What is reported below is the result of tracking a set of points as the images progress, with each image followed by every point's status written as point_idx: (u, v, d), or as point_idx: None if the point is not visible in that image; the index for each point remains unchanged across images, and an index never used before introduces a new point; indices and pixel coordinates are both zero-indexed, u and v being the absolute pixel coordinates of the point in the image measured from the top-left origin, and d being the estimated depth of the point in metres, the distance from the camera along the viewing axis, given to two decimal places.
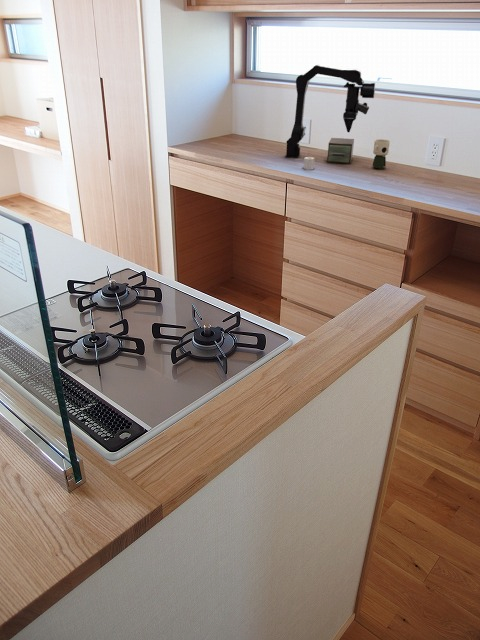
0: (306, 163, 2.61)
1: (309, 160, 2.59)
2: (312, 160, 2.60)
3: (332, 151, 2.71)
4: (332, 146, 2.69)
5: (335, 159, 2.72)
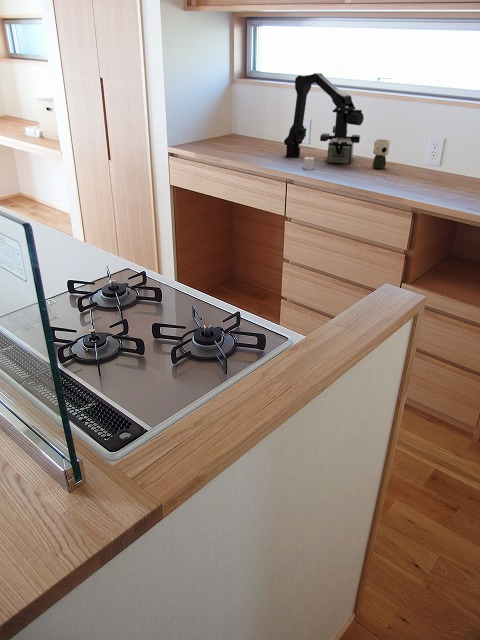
0: (306, 163, 2.61)
1: (309, 160, 2.59)
2: (312, 160, 2.60)
3: (332, 152, 2.69)
4: (332, 147, 2.68)
5: (335, 160, 2.70)
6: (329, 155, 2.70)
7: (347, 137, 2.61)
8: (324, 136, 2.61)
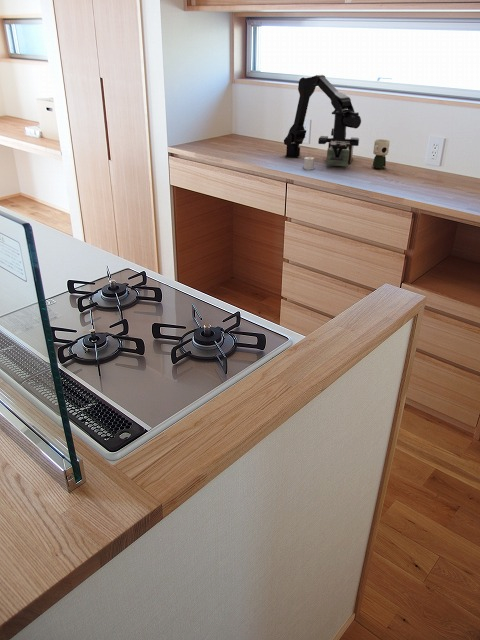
0: (306, 163, 2.61)
1: (309, 160, 2.59)
2: (312, 160, 2.60)
3: (330, 155, 2.63)
4: (330, 150, 2.62)
5: (333, 163, 2.65)
6: (327, 158, 2.64)
7: (346, 140, 2.55)
8: (322, 139, 2.56)
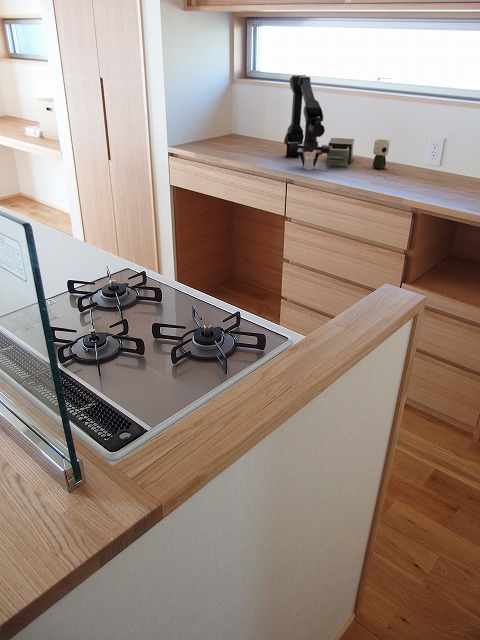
0: (306, 163, 2.61)
1: (309, 160, 2.59)
2: (312, 160, 2.60)
3: (330, 155, 2.63)
4: (330, 150, 2.62)
5: (333, 163, 2.65)
6: (327, 158, 2.64)
7: None
8: None
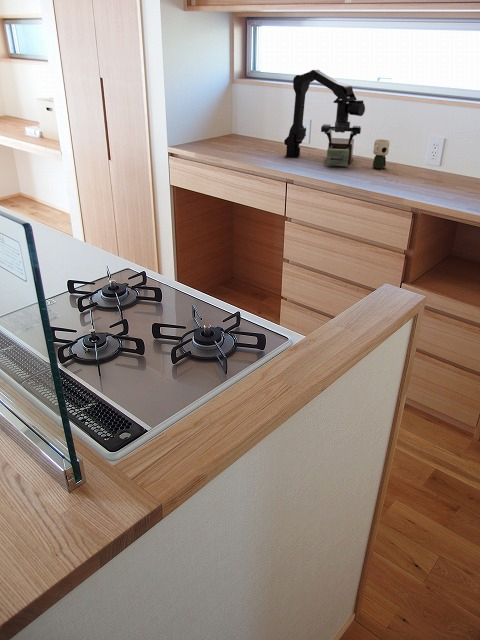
0: None
1: None
2: None
3: (330, 155, 2.63)
4: (330, 150, 2.62)
5: (333, 163, 2.65)
6: (327, 158, 2.64)
7: None
8: None
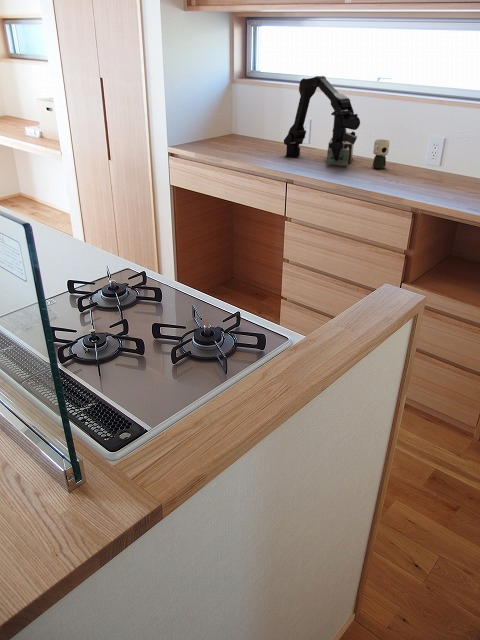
0: None
1: None
2: None
3: (330, 154, 2.64)
4: (330, 149, 2.63)
5: (333, 162, 2.66)
6: (328, 157, 2.65)
7: None
8: None
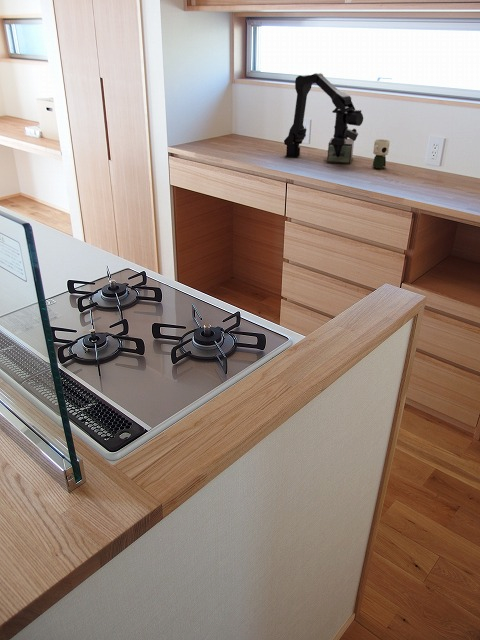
0: None
1: None
2: None
3: (332, 151, 2.71)
4: (332, 146, 2.69)
5: (335, 159, 2.72)
6: (329, 154, 2.72)
7: None
8: None
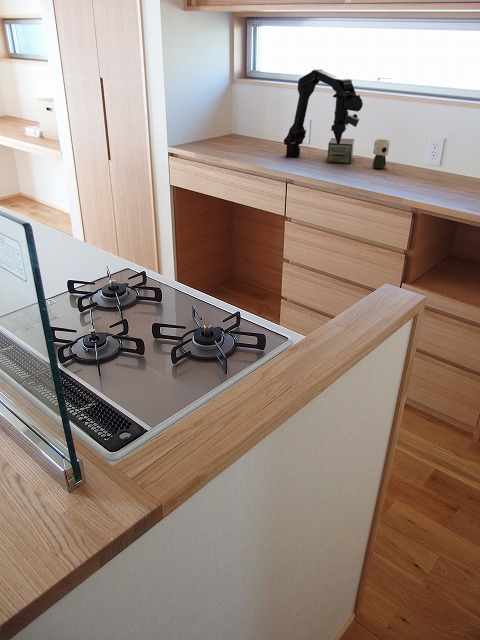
0: None
1: None
2: None
3: (332, 151, 2.71)
4: (332, 146, 2.69)
5: (335, 159, 2.72)
6: (329, 154, 2.72)
7: None
8: None
